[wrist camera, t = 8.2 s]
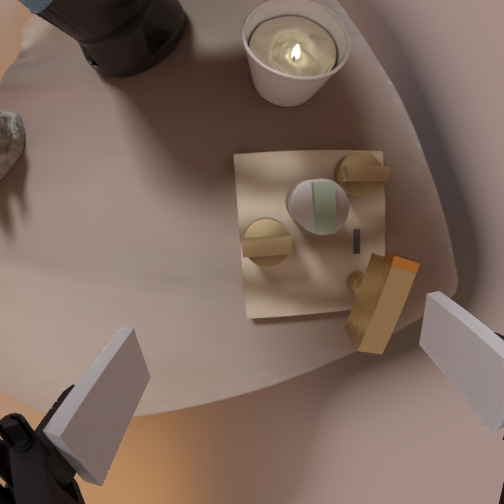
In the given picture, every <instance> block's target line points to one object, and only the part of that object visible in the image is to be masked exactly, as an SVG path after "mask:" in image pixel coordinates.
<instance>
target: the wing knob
mask: <svg viewBox="0 0 504 504" xmlns="http://www.w3.org/2000/svg"><path fill="white" fill-rule="evenodd" d="M419 265H420V263H418V262H416V261H414V260H412V259H409V258H406V257H403V256H399V255H396V254H393V253H390V252H387V255H386V257H385V256H381V255H378V254H374V253H372V254H371V257H370V260H369V263H368V266H367V269H366V272H365V274H364V273H362V272H360V271H356V272H353V273H352V274H350V276H349V277H348V279H347V286H348V288H349V289H350V290H351V291H352V292H353V293H354V295H355V296H356V300H355V302H354V305H353V308H352V310H351V313H350V315H349V318H348V320H347V323H346V325H345V330H346V332H347V334H348V335H349V337H350V339H351V341H352V342H353V344H354V346H355V348H356V349H357V351H360V352H368V353H375V354H382V353H383V351H384V349H385V347H386V345H387V343H388V341H389V339H390V337H391V334H392V332H393V330H394V328H395V326H396V323H397V321H398V319H399V316H400V314H401V312H402V309H403V307H404V304H405V302H406V299H407V297H408V294H409V292H410V289H411V286H412V284H413V281H414V278H415V275H416V274H417V271H418V268H419Z"/></svg>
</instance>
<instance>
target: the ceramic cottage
mask: <svg viewBox="0 0 504 504" xmlns="http://www.w3.org/2000/svg"><path fill="white" fill-rule="evenodd" d="M25 136H26V135H25V128H24V124H23V122H22V119H21V118H20V116H19V114H17V113H14V112H8V111H7V112H6V111H2V110H0V180H1V179H2V178H3V177H4V175H5V174H6V173H7V172H8V171H9V170H10V169H11V167H12V166H13V165H14V164H15V163H16V162H17V161H18V159H19V158H20V156H21V154H22V151H23V149H24V144H25Z"/></svg>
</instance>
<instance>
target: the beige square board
mask: <svg viewBox="0 0 504 504" xmlns="http://www.w3.org/2000/svg"><path fill="white" fill-rule="evenodd" d="M233 156H234V169H235V182H236V195H237V208H238V220H239V233H240V245H241V257H242V269H243V280H244V292H245V303H246V314H247V319H253V318H268V317H282V316H295V315H306V314H317V313H327V312H336V311H345V310H352V308H353V305H354V302H355V300H356V296H355V295H354V293H353V292H352V291H351V290H350V289H349V288H348V286H347V279H348V277H349V276H350V274H352V273H353V272H356V271H360V272H362V273H364V274H365V272H366V269H367V266H368V263H369V260H370V257H371V254H372V253H374V254H378V255H381V256H385V238H386V209H385V181H392V176H391V166H384V163H383V151H370V150H298V151H275V152H258V153H244V154H233Z"/></svg>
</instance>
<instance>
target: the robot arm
mask: <svg viewBox="0 0 504 504" xmlns="http://www.w3.org/2000/svg"><path fill="white" fill-rule="evenodd" d="M18 1H19V2H21V3H22V4H23V5H24V6H26V7H27V8H28V9H29V10H30V12H31V13H33V14H36V15H38V16H39V17H41V18H43V19H44V20H46V21H48V22H49V23H51V24H52V25H54V26H55V27H57V28H59V29H60V30H62V31H63V32H65V33H66V34H68V35H69V36H71V37H72V38H74V39H75V40H77V41H78V43H79V45H80V47H81V49H82V51H83V54H84V56H85V58H86V60H87V62H88V63H89V64H90V65H91V66H92V67H93V68H94V69H95V70H97V71H99V72H100V73H102V74H103V75H106V76H109V77H117V78H119V77H128V76H132V75H136V74H139V73H141V72H144V71H146V70H148V69H150V68H151V67H153V66H155V65H156V64H158V63H159V62H160V61H162V60H163V59H164V58H165V57H166V56H167V55H168V54H169V53H170V52H171V51H172V50H173V49H174V48H175V47H176V45H177V44H178V42H179V41H180V39H181V37H182V35H183V32H184V29H185V24H186V18H185V13H184V11H183V9H182V6H181V4H180V2H179V1H178V0H18ZM419 345H420V346H421V347H422V348H423V350H424V351H425V352H426V353H427V354H428V355H429V357H430V358H431V359H432V360H433V361H434V363H435V364H436V365H437V366H438V367H439V369H440V370H441V371H442V372H443V374H444V375H445V376H446V377H447V378H448V380H449V381H450V382H451V383H452V385H453V386H454V387H455V388H456V390H457V391H458V392H459V393H460V395H461V396H462V397H463V399H464V400H465V401H466V403H467V404H468V405H469V406H470V408H471V409H472V410H473V411H474V413H475V414H476V416H477V417H478V418H479V420H480V421H481V422H482V424H483V425H484V427H485V428H486V429H487V431H488V432H489V434H490V435H491V434H492V433H494V432H496V431H497V430H499V429H500V428H502V427H503V426H504V336H502V335H500V334H498V333H496V332H493V331H491V330H490V329H489V328H488V327H486V326H485V325H484V324H483V323H481V322H480V321H479V320H478V319H476V318H475V317H474V316H472V315H471V314H470V313H468V312H467V311H466V310H465V309H463V308H462V307H461V306H459V305H458V304H457V303H455V302H454V301H453V300H451V299H450V298H448V297H447V296H446V295H444V294H443V293H442V292H440V291H436V292H432V293H427V295H426V303H425V311H424V318H423V324H422V331H421V336H420V342H419ZM150 377H151V376H150V374H149V371H148V368H147V366H146V363H145V360H144V357H143V354H142V352H141V349H140V346H139V343H138V340H137V337H136V334H135V331H134V328H125V329H119V330H118V331H117V332H116V333H115V335H114V336H113V337H112V338H111V340H110V341H109V342H108V343H107V345H106V346H105V347H104V348H103V350H102V351H101V352H100V353H99V355H98V356H97V357H96V359H95V360H94V361H93V362H92V364H91V365H90V366H89V368H88V369H87V370H86V372H85V373H84V374H83V376H82V377H81V378H80V380H79V381H78V382H77V384H76V385H72V386H70V387H69V388H68V389H66V390H65V391H64V392H63V393H62V394H61V395H60V397H59V398H58V399H57V402H55V403H54V405H53V406H52V409H50V410H49V412H48V413H47V414H46V416H45V417H44V419H43V420H42V421H41V423H40V424H39V425H38V427H37V428H36V430H35V431H34V430H33V429H32V428H31V427H30V425H29V423H28V422H27V420H26V419H25V418H24V417H23V416H22V415H21V414H18V413H14V414H9V415H7V416H5V417H4V418H2V419H1V420H0V436H1V437H2V439H3V440H1V439H0V477H1V478H2V479H3V480H4V481H5V482H6V485H5V488H4V487H3V486H2V485H1V484H0V504H85V502H84V500H83V497H82V494H81V492H80V489H79V486H78V484H77V482H76V480H75V479H74V476H75V474H76V472H77V473H78V475H79V476H80V477H81V478H82V479H83V480H84V481H86V482H90V483H92V484H96V485H99V486H102V485H103V483H104V480H105V478H106V476H107V473H108V471H109V469H110V466H111V464H112V461H113V459H114V457H115V454H116V452H117V450H118V448H119V445H120V443H121V441H122V438H123V436H124V434H125V432H126V429H127V427H128V425H129V423H130V421H131V418H132V416H133V414H134V412H135V410H136V407H137V405H138V403H139V401H140V399H141V397H142V394H143V392H144V390H145V388H146V386H147V384H148V382H149V379H150ZM503 440H504V437H503ZM499 504H504V483H503V488H502V492H501V497H500V501H499Z"/></svg>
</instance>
